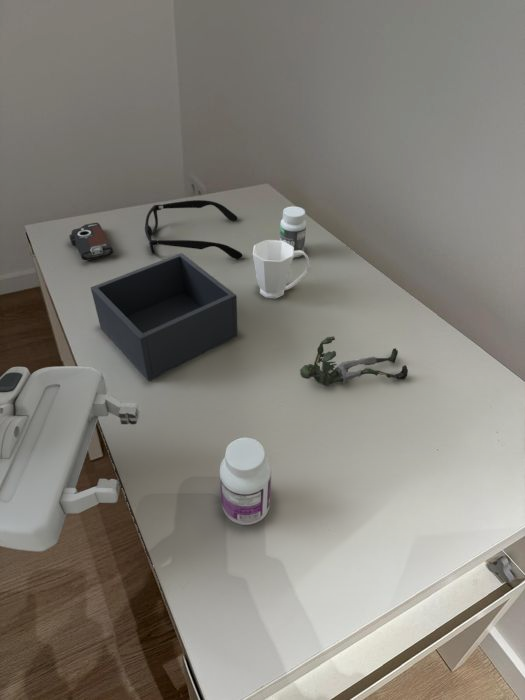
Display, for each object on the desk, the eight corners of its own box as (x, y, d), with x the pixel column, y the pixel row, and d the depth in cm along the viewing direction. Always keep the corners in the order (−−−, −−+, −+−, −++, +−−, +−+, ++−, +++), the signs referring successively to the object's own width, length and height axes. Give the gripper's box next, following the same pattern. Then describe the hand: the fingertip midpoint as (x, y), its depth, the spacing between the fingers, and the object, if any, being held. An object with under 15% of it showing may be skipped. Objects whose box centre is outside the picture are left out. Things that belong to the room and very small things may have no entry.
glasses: (151, 224, 106) (147, 202, 103) (237, 218, 107) (235, 195, 104) (146, 268, 94) (141, 244, 91) (243, 261, 95) (241, 237, 91)
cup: (246, 283, 90) (246, 242, 84) (300, 274, 92) (303, 233, 87) (258, 306, 85) (259, 264, 79) (315, 296, 87) (319, 255, 82)
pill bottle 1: (238, 476, 60) (237, 423, 54) (278, 497, 58) (282, 445, 52) (212, 512, 57) (207, 460, 50) (253, 535, 55) (253, 484, 48)
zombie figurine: (416, 346, 68) (306, 363, 65) (405, 382, 72) (303, 398, 70) (399, 320, 72) (295, 335, 69) (391, 355, 76) (293, 370, 74)
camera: (75, 252, 91) (64, 226, 99) (80, 265, 93) (69, 239, 101) (110, 242, 93) (97, 217, 101) (114, 255, 95) (101, 230, 103)
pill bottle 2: (273, 251, 98) (275, 210, 92) (292, 243, 100) (294, 202, 94) (290, 261, 95) (293, 220, 89) (309, 253, 97) (312, 212, 92)
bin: (148, 381, 72) (140, 338, 66) (100, 328, 80) (90, 287, 75) (237, 336, 79) (236, 295, 74) (185, 292, 87) (181, 252, 82)
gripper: (-74, 526, 42) (95, 530, 42) (18, 355, 57) (143, 358, 57) (-45, 562, 46) (109, 566, 46) (34, 394, 61) (150, 397, 61)
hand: (128, 450), depth 52 cm, fingers open, 8 cm apart
